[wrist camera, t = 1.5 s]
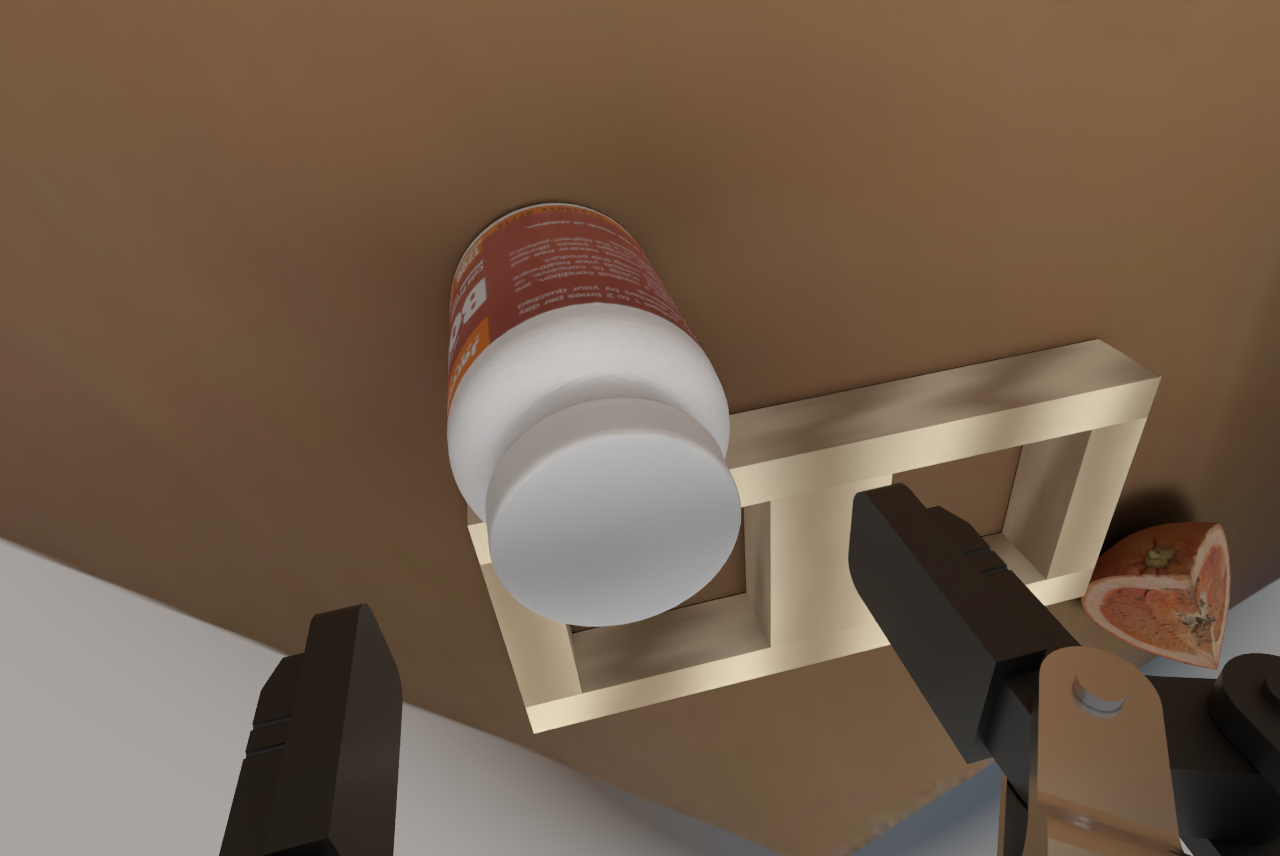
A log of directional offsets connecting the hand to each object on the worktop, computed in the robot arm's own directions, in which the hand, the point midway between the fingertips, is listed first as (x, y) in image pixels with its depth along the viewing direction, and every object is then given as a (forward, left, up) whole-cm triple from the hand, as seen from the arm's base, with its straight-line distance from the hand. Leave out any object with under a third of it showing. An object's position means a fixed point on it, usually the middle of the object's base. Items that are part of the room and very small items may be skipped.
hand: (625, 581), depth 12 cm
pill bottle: (0, 0, -13) cm, 13 cm away
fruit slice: (-25, +18, -13) cm, 34 cm away
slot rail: (-8, +11, -12) cm, 19 cm away
